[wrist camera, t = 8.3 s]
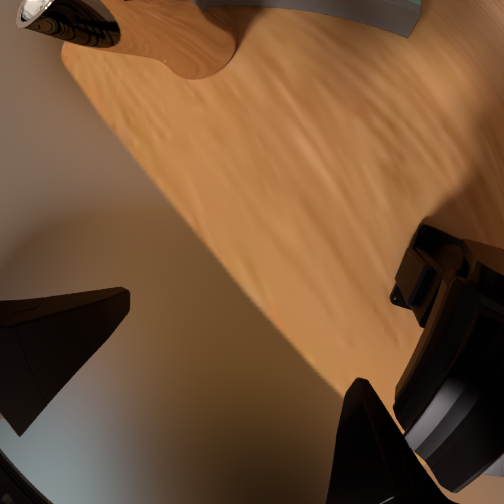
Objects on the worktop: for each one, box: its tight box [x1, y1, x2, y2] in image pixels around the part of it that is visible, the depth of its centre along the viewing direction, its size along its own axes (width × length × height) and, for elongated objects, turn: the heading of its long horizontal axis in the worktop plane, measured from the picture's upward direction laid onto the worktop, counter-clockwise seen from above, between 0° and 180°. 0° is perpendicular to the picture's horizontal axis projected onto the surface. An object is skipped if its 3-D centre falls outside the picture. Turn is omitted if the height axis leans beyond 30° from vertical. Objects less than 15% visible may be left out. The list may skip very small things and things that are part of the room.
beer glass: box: [16, 0, 237, 80], centre depth 10 cm, size 7×7×15 cm
